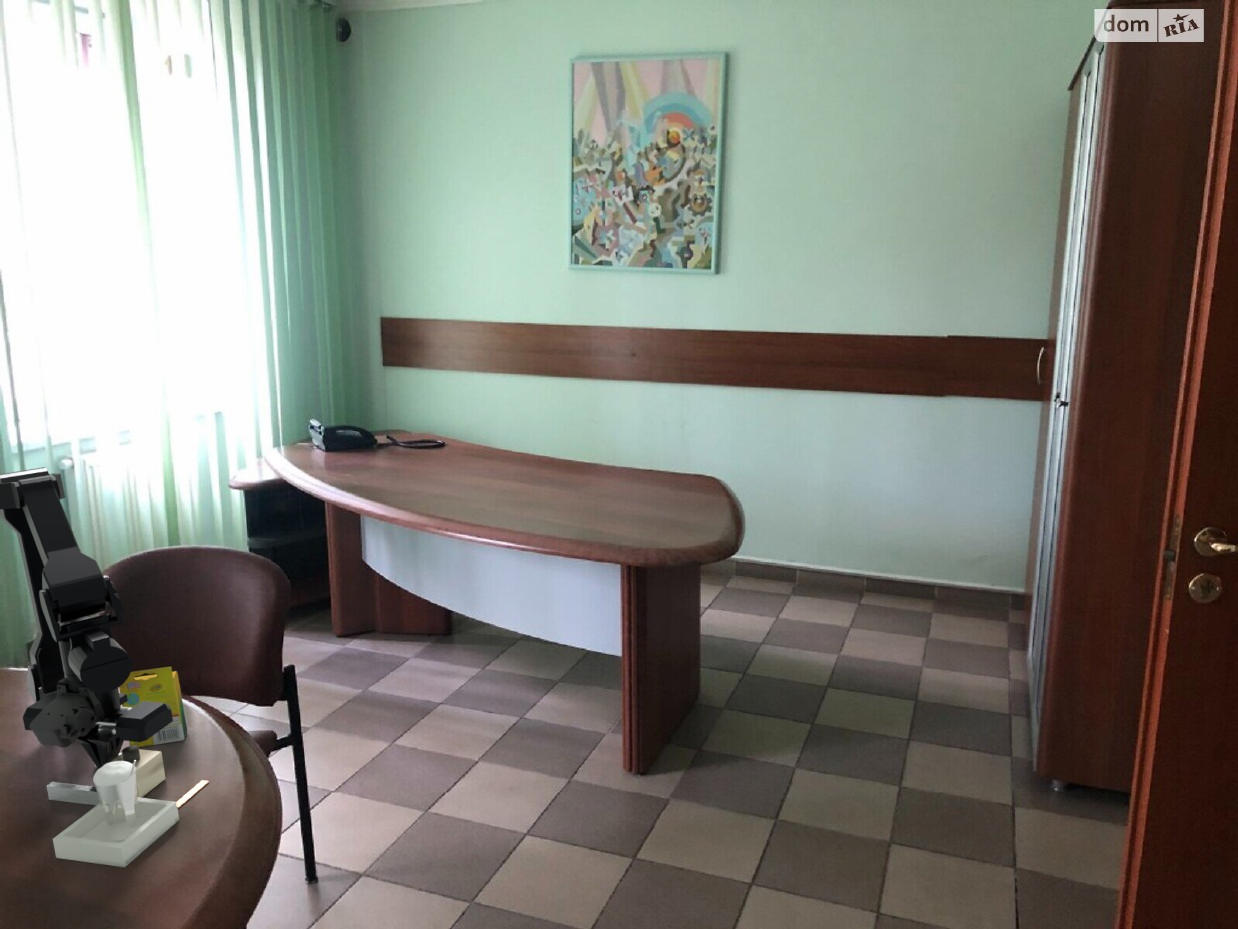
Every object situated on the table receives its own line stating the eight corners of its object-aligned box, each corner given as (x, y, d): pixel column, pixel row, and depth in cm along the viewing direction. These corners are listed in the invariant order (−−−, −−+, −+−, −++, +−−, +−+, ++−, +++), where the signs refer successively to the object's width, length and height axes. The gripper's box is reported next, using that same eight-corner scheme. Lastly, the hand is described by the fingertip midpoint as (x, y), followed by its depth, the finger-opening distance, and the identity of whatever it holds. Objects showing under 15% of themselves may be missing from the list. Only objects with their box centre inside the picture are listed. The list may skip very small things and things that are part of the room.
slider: (106, 795, 127) (100, 757, 125) (133, 775, 131) (127, 738, 130) (139, 799, 125) (132, 761, 124) (165, 778, 130) (159, 741, 129)
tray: (56, 857, 114) (52, 839, 114) (114, 811, 123) (111, 794, 123) (124, 867, 112) (121, 848, 111) (179, 819, 121) (176, 802, 120)
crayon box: (188, 731, 143) (177, 658, 140) (184, 741, 140) (173, 667, 138) (133, 739, 141) (121, 665, 139) (129, 749, 139) (116, 674, 136)
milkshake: (134, 847, 115) (121, 771, 112) (95, 843, 116) (81, 767, 114) (159, 824, 119) (147, 751, 117) (121, 820, 120) (108, 748, 118)
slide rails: (49, 799, 127) (46, 786, 126) (100, 763, 135) (97, 750, 135) (171, 815, 122) (168, 800, 122) (215, 776, 131) (214, 763, 130)
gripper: (-24, 688, 120) (-1, 801, 124) (103, 700, 116) (123, 817, 119) (48, 651, 131) (67, 756, 134) (167, 661, 126) (183, 769, 130)
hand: (107, 774), depth 129 cm, fingers closed
